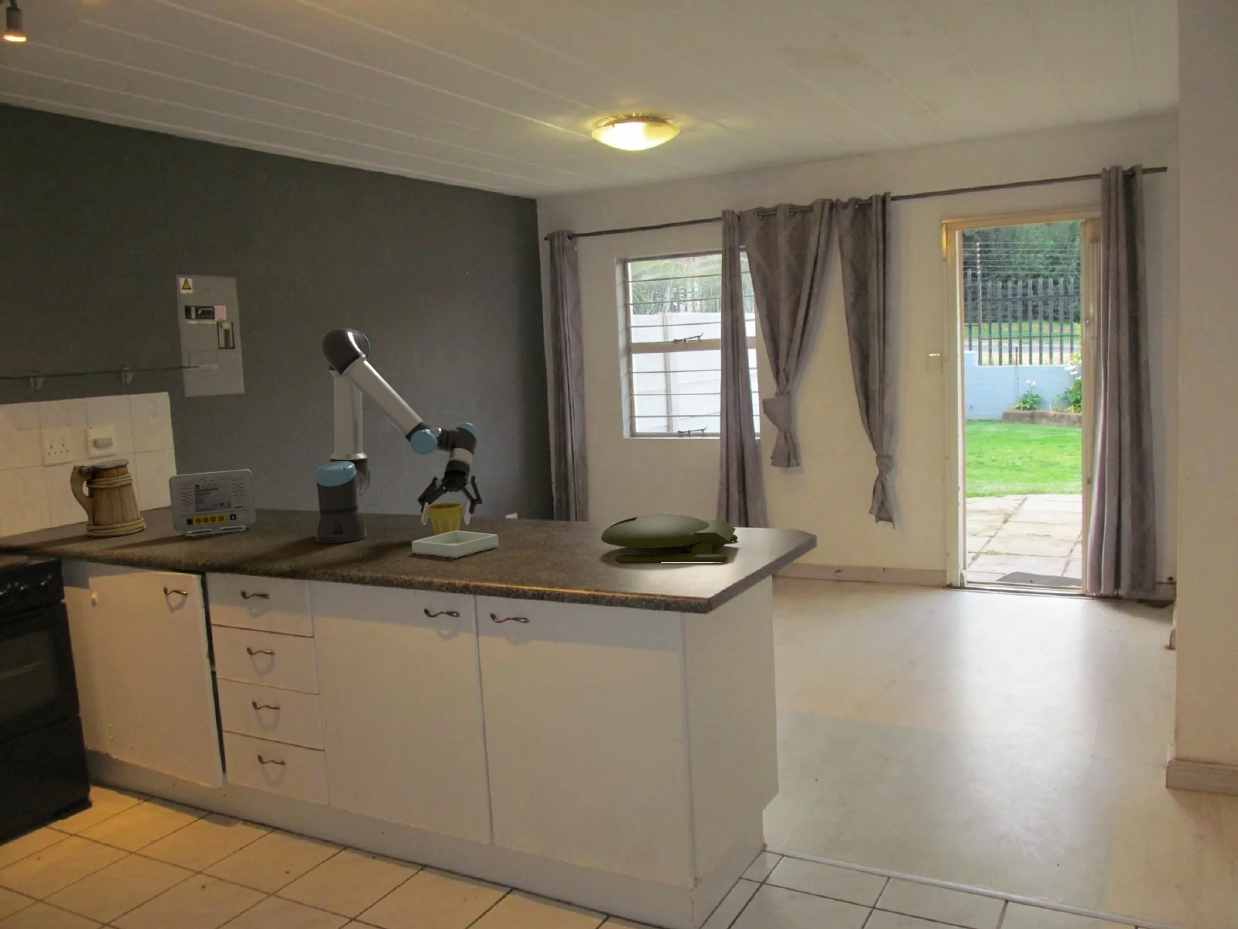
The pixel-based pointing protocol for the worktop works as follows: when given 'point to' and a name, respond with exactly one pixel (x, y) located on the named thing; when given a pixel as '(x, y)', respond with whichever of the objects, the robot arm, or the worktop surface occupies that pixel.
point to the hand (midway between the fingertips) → (444, 522)
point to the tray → (455, 544)
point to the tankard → (107, 498)
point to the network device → (212, 501)
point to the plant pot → (445, 517)
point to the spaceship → (670, 538)
